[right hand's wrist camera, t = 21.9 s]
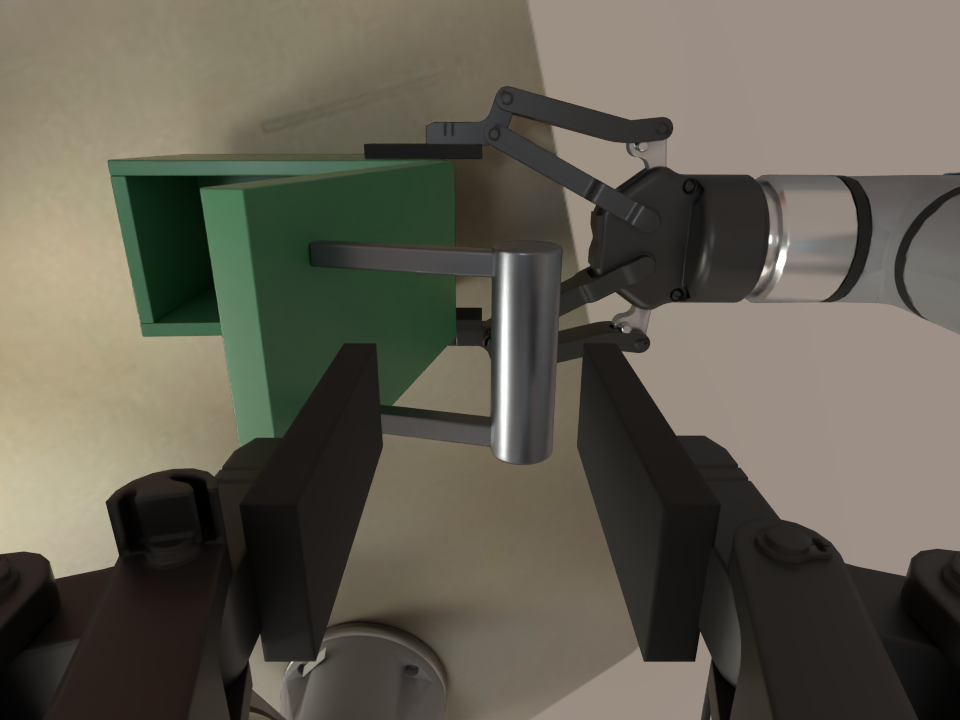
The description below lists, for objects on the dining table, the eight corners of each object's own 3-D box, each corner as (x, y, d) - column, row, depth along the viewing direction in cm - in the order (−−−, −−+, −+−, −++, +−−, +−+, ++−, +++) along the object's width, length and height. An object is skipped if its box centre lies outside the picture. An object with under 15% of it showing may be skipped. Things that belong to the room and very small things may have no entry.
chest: (207, 292, 43) (142, 336, 33) (185, 154, 40) (106, 159, 30) (444, 289, 44) (445, 331, 34) (442, 154, 41) (442, 160, 31)
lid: (249, 514, 18) (533, 561, 16) (198, 187, 15) (548, 197, 13) (435, 334, 34) (588, 347, 32) (431, 160, 31) (600, 162, 29)
